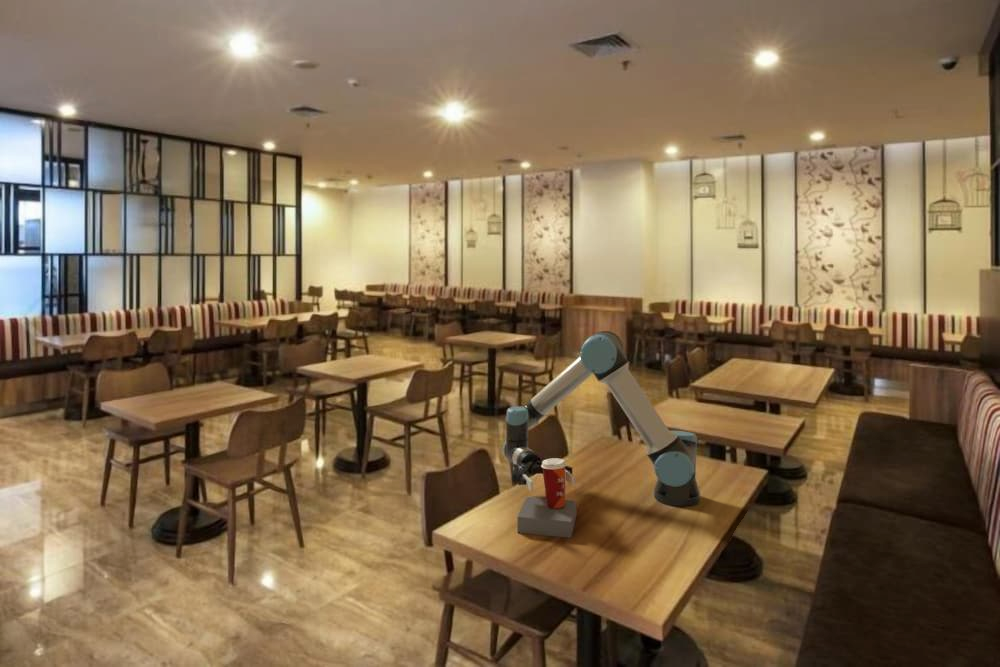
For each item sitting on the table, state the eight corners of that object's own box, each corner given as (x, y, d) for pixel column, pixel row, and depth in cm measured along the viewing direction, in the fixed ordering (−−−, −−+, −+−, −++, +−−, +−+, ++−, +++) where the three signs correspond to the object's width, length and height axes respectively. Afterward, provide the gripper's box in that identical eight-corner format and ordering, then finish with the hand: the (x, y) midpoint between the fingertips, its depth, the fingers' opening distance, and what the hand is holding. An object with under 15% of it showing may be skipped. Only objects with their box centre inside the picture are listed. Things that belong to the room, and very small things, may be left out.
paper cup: (567, 510, 191) (564, 465, 190) (542, 509, 193) (539, 465, 191) (569, 500, 199) (567, 457, 197) (545, 500, 200) (542, 457, 199)
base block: (576, 515, 200) (576, 500, 200) (571, 537, 185) (571, 521, 184) (526, 511, 204) (526, 496, 203) (517, 532, 188) (517, 516, 188)
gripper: (561, 468, 214) (589, 490, 194) (491, 476, 206) (513, 500, 186) (561, 446, 213) (590, 466, 193) (491, 454, 205) (513, 476, 185)
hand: (552, 483), depth 189 cm, fingers open, 13 cm apart
